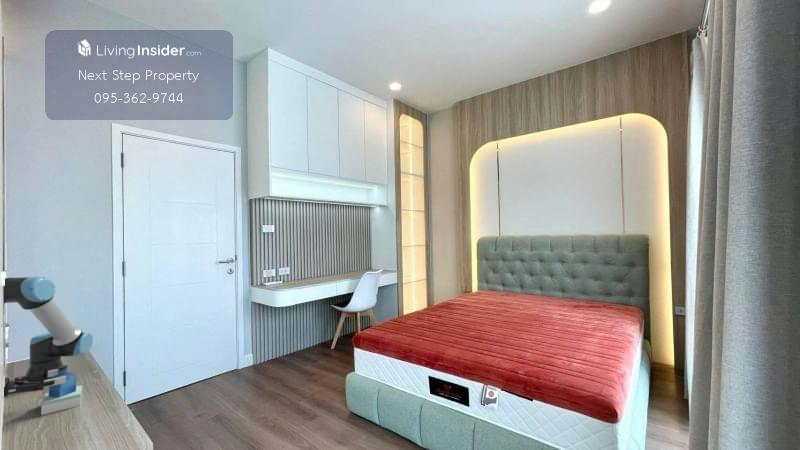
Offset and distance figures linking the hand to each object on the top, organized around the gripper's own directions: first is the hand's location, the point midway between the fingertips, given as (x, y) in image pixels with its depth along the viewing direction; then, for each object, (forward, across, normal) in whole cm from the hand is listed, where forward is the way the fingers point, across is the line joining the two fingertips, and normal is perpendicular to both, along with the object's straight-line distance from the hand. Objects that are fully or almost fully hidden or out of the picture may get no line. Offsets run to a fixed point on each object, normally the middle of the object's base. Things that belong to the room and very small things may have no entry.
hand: (67, 374), depth 151 cm
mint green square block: (-1, 0, -13) cm, 13 cm away
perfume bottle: (-1, 0, -8) cm, 8 cm away
